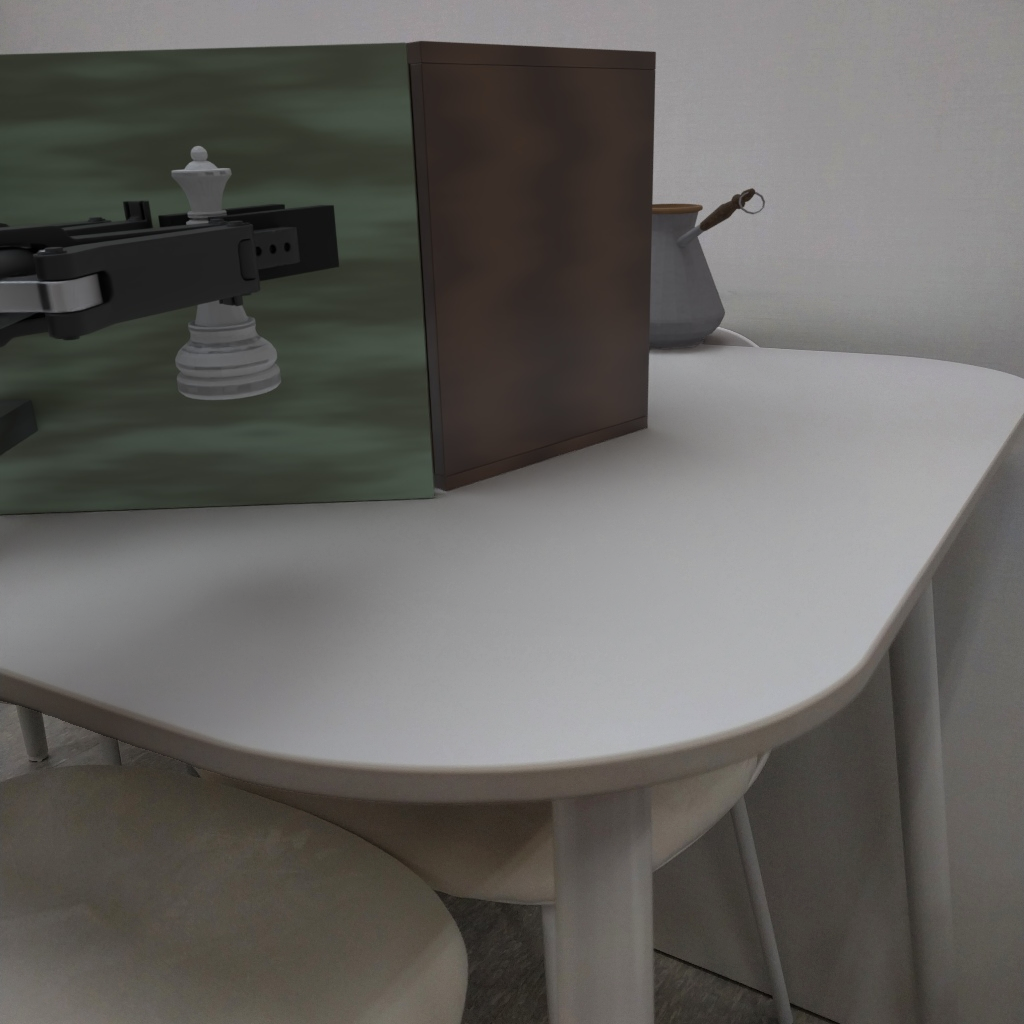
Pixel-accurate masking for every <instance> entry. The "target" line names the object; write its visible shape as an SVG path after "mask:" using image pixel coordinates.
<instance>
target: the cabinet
mask: <svg viewBox="0 0 1024 1024" xmlns="http://www.w3.org/2000/svg"><path fill="white" fill-rule="evenodd" d="M405 43H406V44H407V47H408V63H409V79H410V95H411V111H412V128H413V144H414V160H415V176H416V193H417V209H418V225H419V241H420V257H421V274H422V290H423V306H424V322H425V339H426V355H427V371H428V387H429V403H430V420H431V436H432V452H433V468H434V485H435V489H437V490H441V491H443V492H446V493H447V492H450V491H453V490H456V489H459V488H463V487H466V486H468V485H472V484H475V483H478V482H481V481H485V480H487V479H490V478H494V477H497V476H500V475H504V474H507V473H510V472H513V471H517V470H520V469H522V468H525V467H528V466H531V465H535V464H538V463H541V462H545V461H548V460H550V459H554V458H557V457H560V456H563V455H567V454H569V453H573V452H576V451H579V450H583V449H585V448H589V447H593V446H595V445H598V444H601V443H605V442H608V441H611V440H615V439H617V438H620V437H622V436H623V437H624V436H627V435H629V434H633V433H636V432H640V431H643V430H646V429H648V423H649V422H648V421H649V420H648V419H649V416H648V414H649V381H650V379H649V378H650V377H649V376H650V348H649V337H650V292H651V248H652V204H653V203H654V202H653V198H654V197H653V196H654V195H653V194H654V156H655V155H654V153H655V151H654V150H655V114H656V113H655V109H656V107H655V106H656V68H657V63H656V62H657V52H656V51H648V50H626V49H607V48H604V49H602V48H587V47H586V48H584V47H583V48H582V47H564V46H563V47H562V46H543V45H542V46H541V45H540V46H539V45H522V44H521V45H518V44H517V45H516V44H498V43H497V44H495V43H479V42H477V43H476V42H454V41H435V40H433V41H432V40H416V41H409V42H405Z"/></svg>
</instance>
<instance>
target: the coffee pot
mask: <svg viewBox="0 0 1024 1024" xmlns="http://www.w3.org/2000/svg"><path fill="white" fill-rule="evenodd" d="M755 195H756V196H758V197H760V199H761V201H762V207H761V208H760V209H758V210H757V211H755V212H753V211H749V210H747V209H746V208H745V206H746V203H748V202H750V201H751V200H752V198H753V197H754V196H755ZM765 204H766V200H765V198H764V196H763V195H762V194H760V193H759V192H758V191H756V190H755V188H752V187H751V188H748V189H746V190H743V191H742V192H741V194H740V193H737V194H734V195H733V196H732V197H731V200H730V201H727V202H724V203H722V204H720V205H719V206H718V207H717V208H716V209H715V210H713V211H712V212H711V213H710V214H709V215H708V216H707V217H705V218H704V219H703V220H702V221H701V222H700V223H698V225H696V224H697V220H698V215H699V212H701V211H702V210H703V209H704V207H703V205H702V204H695V203H654V204H653V203H652V248H651V292H650V337H649V349H658V350H659V349H660V350H661V349H664V350H665V349H669V350H670V349H685V348H692V347H696V346H699V345H701V344H703V343H705V338H706V337H708V336H710V335H712V334H713V333H714V332H715V331H716V330H717V329H718V328H719V327H720V325H721V324H722V322H723V319H724V317H725V316H726V311H725V307H724V304H723V302H722V299H721V296H720V295H719V290H718V288H717V286H716V283H715V281H714V277H713V275H712V272H711V269H710V267H709V264H708V261H707V259H706V255H705V253H704V250H703V248H702V245H701V243H700V240H699V236H700V235H702V234H703V233H704V232H707V231H708V230H711V229H712V228H714V227H715V226H717V225H719V224H721V223H722V222H725V221H727V219H729V218H731V216H732V215H733V214H734V213H735V212H736V211H737V210H741V211H743V212H744V213H746V214H749V215H757V214H758V213H761V211H762V210H763V209H765Z"/></svg>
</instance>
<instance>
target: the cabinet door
mask: <svg viewBox="0 0 1024 1024" xmlns="http://www.w3.org/2000/svg"><path fill="white" fill-rule="evenodd" d="M406 43H407V42H406V41H405V42H403V41H402V42H401V41H400V42H372V43H371V42H370V43H368V42H367V43H338V44H336V43H335V44H304V45H303V44H302V45H270V46H265V45H264V46H235V47H201V48H200V47H199V48H197V47H196V48H173V49H172V48H167V49H166V48H165V49H164V48H163V49H162V48H161V49H138V50H137V49H135V50H133V49H132V50H100V51H97V50H95V51H66V52H65V51H63V52H34V53H33V52H31V53H0V223H3V224H7V225H8V226H10V227H12V226H24V225H35V224H36V225H47V224H59V223H70V222H81V221H88V220H89V218H91V217H102V219H105V220H111V221H112V222H116V221H125V220H126V218H125V212H124V206H123V201H149V205H150V212H151V218H152V224H153V228H160V225H159V218H158V216H159V215H169V214H179V213H188V212H190V211H191V207H190V204H189V201H188V198H187V196H186V194H185V192H184V191H183V189H182V188H181V186H180V185H179V184H178V183H177V182H176V181H175V180H174V179H173V178H172V173H171V172H172V171H173V170H184V169H185V167H186V166H187V165H188V164H189V163H190V162H193V161H194V160H193V159H192V158H191V150H192V149H193V148H194V147H196V146H201V147H203V148H204V149H205V150H206V151H207V155H208V156H207V159H206V161H209V162H211V163H212V164H214V165H215V166H216V167H217V168H229V169H230V170H231V174H232V175H231V176H230V178H229V179H228V181H227V182H226V185H225V188H224V191H223V195H222V209H228V208H238V207H248V206H258V205H268V204H285V209H289V208H298V207H307V206H316V205H334V213H335V224H336V236H337V247H338V258H339V267H336V268H330V269H325V270H319V271H314V272H308V273H303V274H297V275H292V276H286V277H281V278H275V279H270V280H264V281H260V289H261V290H260V291H258V292H253V293H252V294H251V295H247V296H242V297H243V305H242V306H243V308H244V311H245V313H246V315H247V316H248V317H252V318H255V322H256V326H255V329H256V332H257V334H258V335H259V336H261V337H262V338H264V339H265V340H267V341H268V342H270V343H271V344H272V345H273V347H274V348H275V349H276V352H277V359H276V361H275V364H277V366H278V367H279V369H280V375H281V383H280V384H279V385H278V387H276V388H275V389H273V390H271V391H269V392H266V393H263V394H259V395H255V396H250V397H244V398H237V399H227V400H201V399H194V398H189V397H186V396H184V395H183V394H182V393H180V392H179V390H178V384H177V376H178V374H179V373H180V372H181V371H180V370H179V369H178V368H177V367H176V362H175V358H176V356H177V354H178V351H179V350H180V349H181V348H182V347H183V346H184V345H185V344H186V343H187V342H188V341H189V339H190V331H189V328H188V323H190V322H192V321H195V320H196V314H197V307H198V305H195V306H191V307H187V308H182V309H178V310H173V311H169V312H165V313H160V314H156V315H152V316H147V317H143V318H138V319H134V320H130V321H125V322H121V323H116V324H114V325H111V326H108V327H106V328H103V329H101V330H98V331H95V332H93V333H90V334H87V335H83V336H80V338H79V339H76V340H63V339H55V338H53V337H50V336H49V332H44V333H38V334H32V335H26V336H20V337H15V338H12V339H11V340H10V341H9V342H8V343H7V344H6V345H5V346H3V347H0V515H20V514H45V513H71V512H72V513H73V512H97V511H123V510H124V511H125V510H126V511H127V510H128V511H129V510H151V509H177V508H204V507H205V508H207V507H230V506H231V507H233V506H256V505H280V504H281V505H282V504H283V505H285V504H286V505H287V504H311V503H334V502H335V503H336V502H361V501H362V502H363V501H388V500H389V501H391V500H412V499H413V500H415V499H434V498H435V492H436V488H435V485H434V468H433V452H432V436H431V420H430V403H429V387H428V371H427V355H426V339H425V322H424V306H423V290H422V274H421V257H420V241H419V225H418V209H417V193H416V176H415V160H414V144H413V128H412V111H411V95H410V79H409V63H408V47H407V44H406Z"/></svg>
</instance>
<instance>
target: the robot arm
mask: <svg viewBox="0 0 1024 1024" xmlns="http://www.w3.org/2000/svg"><path fill="white" fill-rule="evenodd" d="M123 206H124V212H125V218H126V220H125V221H116V222H112V221H111V220H105V219H102V217H91V218H89V220H88V221H81V222H70V223H59V224H47V225H36V224H35V225H24V226H12V227H10V226H8V225H7V224H3V223H0V347H3V346H5V345H6V344H7V343H8V342H9V341H10V340H11V339H12V338H15V337H20V336H26V335H32V334H38V333H44V332H49V336H50V337H53V338H55V339H63V340H76V339H79V338H80V336H83V335H87V334H90V333H93V332H95V331H98V330H101V329H103V328H106V327H108V326H111V325H114V324H116V323H121V322H125V321H130V320H134V319H138V318H143V317H147V316H152V315H156V314H160V313H165V312H169V311H173V310H178V309H182V308H187V307H191V306H195V305H200V304H204V303H209V302H213V301H217V300H219V304H224V305H231V306H234V305H235V306H241V305H243V297H242V296H247V295H251V294H252V293H253V292H258V291H260V290H261V289H260V281H264V280H270V279H275V278H281V277H286V276H292V275H297V274H303V273H308V272H314V271H319V270H325V269H330V268H336V267H339V258H338V247H337V236H336V224H335V213H334V205H316V206H307V207H298V208H289V209H285V204H268V205H258V206H248V207H238V208H228V209H222V210H225V211H226V213H227V215H223V216H214V217H208V223H201V224H191V225H186V222H188V221H189V220H192V219H193V218H189V217H188V214H187V213H179V214H169V215H159V216H158V218H159V225H160V228H153V224H152V218H151V212H150V205H149V201H123Z"/></svg>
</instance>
